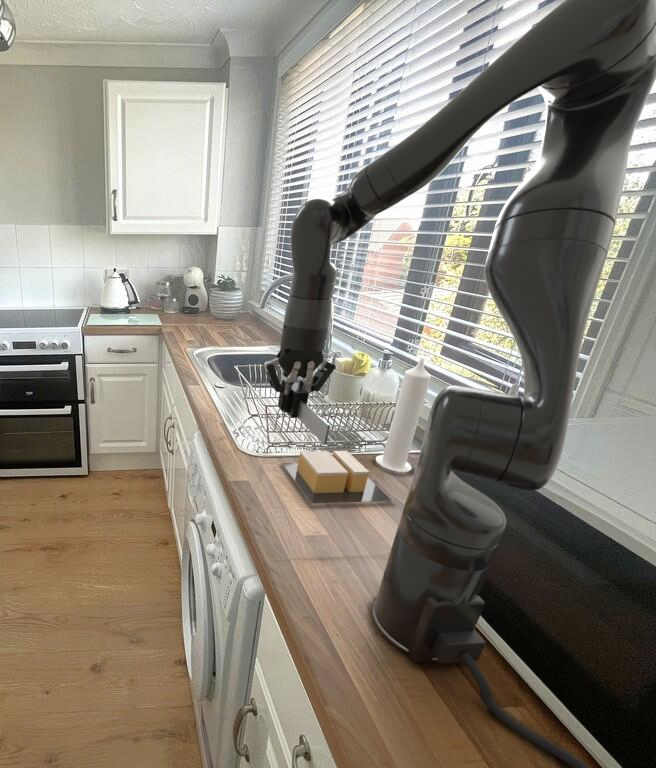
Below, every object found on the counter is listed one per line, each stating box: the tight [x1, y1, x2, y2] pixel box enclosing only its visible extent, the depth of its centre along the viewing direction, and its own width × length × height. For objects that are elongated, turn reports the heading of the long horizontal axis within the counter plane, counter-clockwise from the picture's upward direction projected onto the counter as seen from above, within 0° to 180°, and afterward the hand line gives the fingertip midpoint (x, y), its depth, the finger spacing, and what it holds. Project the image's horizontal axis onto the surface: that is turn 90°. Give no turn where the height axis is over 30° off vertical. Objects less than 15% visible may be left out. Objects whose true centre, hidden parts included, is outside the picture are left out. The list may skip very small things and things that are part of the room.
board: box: [281, 462, 393, 505], centre depth 84 cm, size 14×16×1 cm
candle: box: [375, 357, 432, 473], centre depth 87 cm, size 7×7×25 cm
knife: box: [286, 382, 331, 445], centre depth 74 cm, size 16×2×5 cm, turn 6°
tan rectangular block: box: [297, 450, 348, 493], centre depth 83 cm, size 8×6×5 cm
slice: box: [331, 450, 370, 492], centre depth 83 cm, size 8×3×5 cm, turn 5°
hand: (291, 410), depth 80 cm, fingers closed on knife, 2 cm apart
